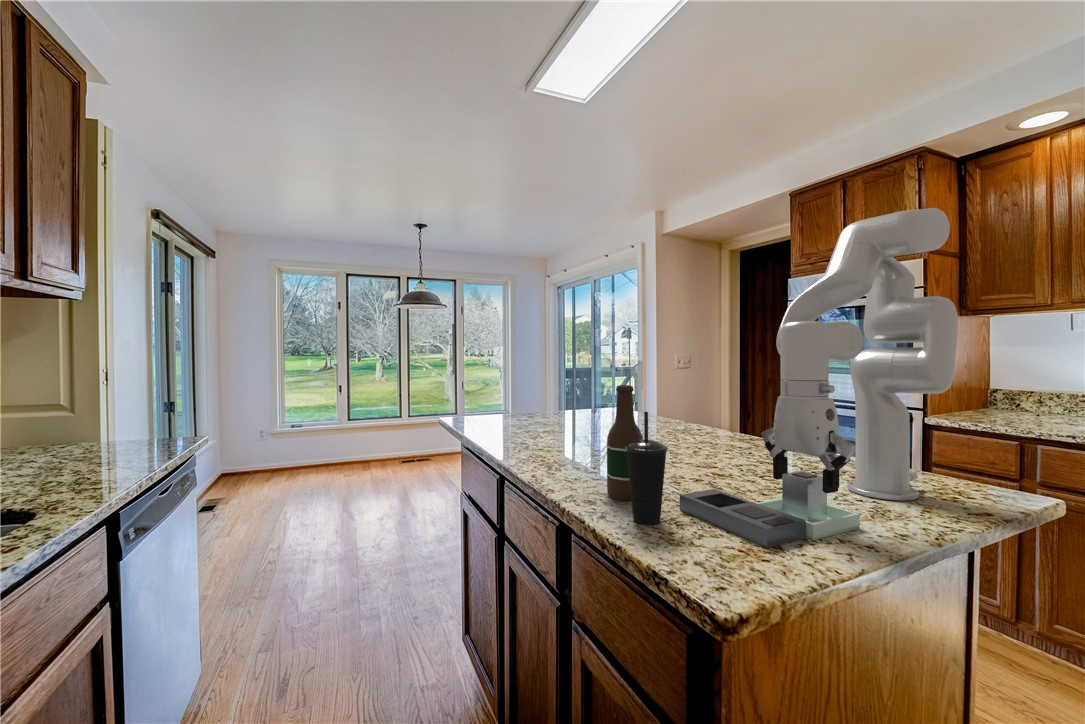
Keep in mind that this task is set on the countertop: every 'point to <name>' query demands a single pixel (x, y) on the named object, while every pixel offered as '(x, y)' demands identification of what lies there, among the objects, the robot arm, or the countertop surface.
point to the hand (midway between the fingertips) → (804, 484)
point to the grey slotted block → (744, 517)
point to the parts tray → (833, 525)
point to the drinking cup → (646, 477)
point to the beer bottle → (621, 445)
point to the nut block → (804, 496)
